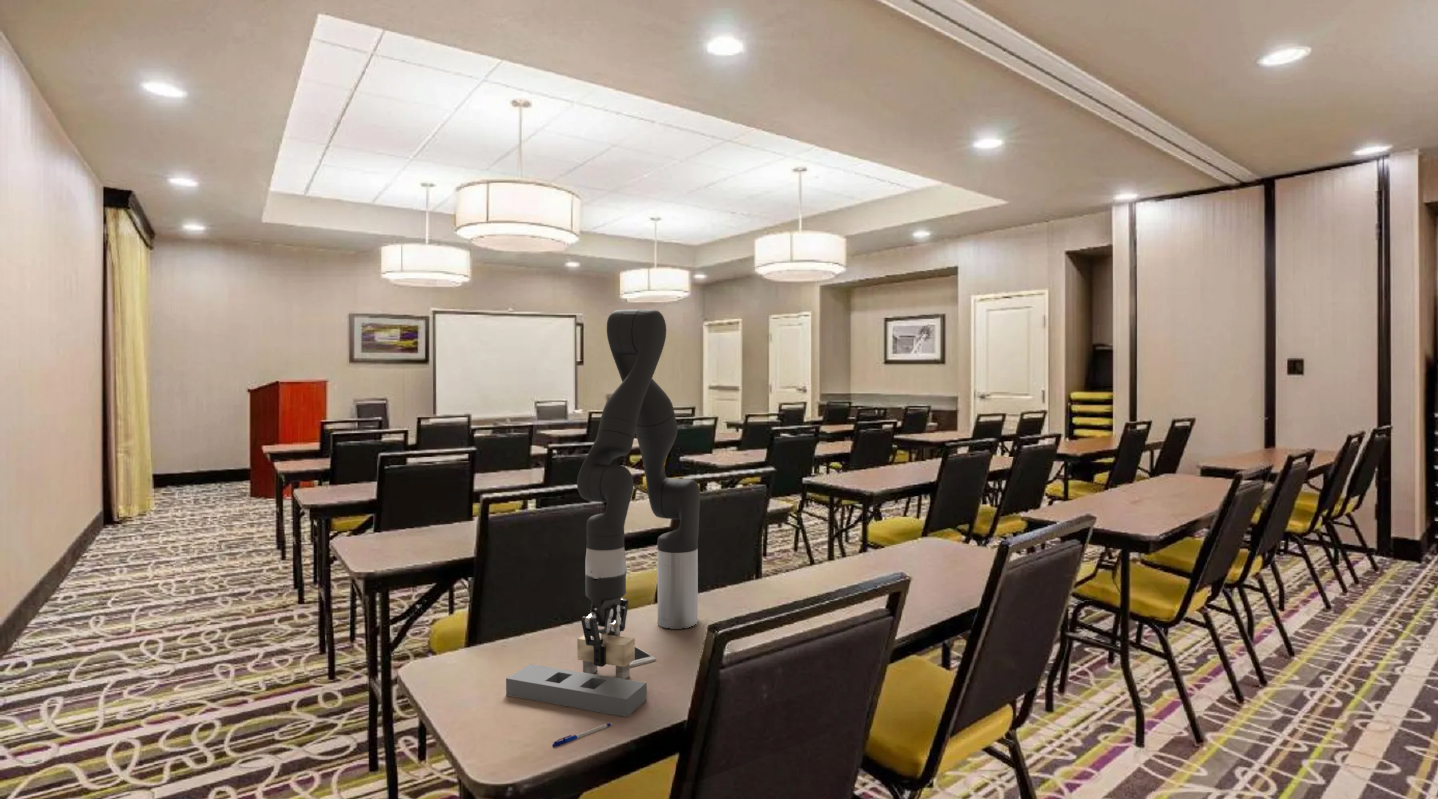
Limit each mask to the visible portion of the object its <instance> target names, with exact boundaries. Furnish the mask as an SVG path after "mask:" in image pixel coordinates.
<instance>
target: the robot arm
mask: <svg viewBox="0 0 1438 799" xmlns="http://www.w3.org/2000/svg"><path fill="white" fill-rule="evenodd" d="M606 336H607V337H606V338H607V342H608V345H609V349H610V351H611V354H612V357H613V360H614V363H615V365H616V369H617V370H618V373H619V374H618V375H619V376H620V380H621V383H620V384H619V386H618V387H617V388H616V389H615V390H614V392H613V393H612V394H611V395H610V396H609V398H608V400H607V401H606V403H605V404H604V407H603V410H602V413H601V416H600V420H599V425H598V429H597V433H596V438H595V440H594V442H593V444H592V446H591V447H590V449H589V452H588V454H587V455H586V456H585V459H584V461H583V463H582V465H581V467H580V469H579V472H578V475H577V478H576V488H577V492H578V494H579V495H580V497H581V498H582V499H584V500H585V501H589V502H596V503H597V502H598V503H606V506H605V507H606V508H605V510H604V512H603V513H597V514H594V515H592V516H589V517H588V519H587V521H586V553H585V559H584V560H585V564H584V565H585V566H584V569H585V575H584V576H585V583H584V584H585V596H586V598H588V599H589V600H590V602H591V606H590V609H589V614H588V615H587V616H582V617H581V620H580V621H581V627H582V631H583V635H584V636H585V641H586V645H589V646H593V647H594V665H595V666H597V667H601V668H602V667H604V666H606V665H607V664H606V646H605V645H606V637H607V635H614V636H621V632H624V631H625V628H626V622H627V620H626V619H627V615H628V609H629V599H626V598H623V597H624V596H626V593H627V574H626V573H627V569H626V568H627V564H626V560H627V559H626V558H627V557H626V552H625V523H626V520H627V515H628V510H629V507H630V503H631V499H632V496H633V492H634V478H633V475H632V473H631V471H630V469H628V468H627V467H626V466H623V465H618V464H612V462H613V461H614V459H616V458H619V457H624V456H627V455H629V453H630V452H631V451H632V448H633V446H634V445H633V444H634V439H635V437H636V440H637V444H638V446H639V447H638V448H639V451H640V455H641V460H642V464H643V468H644V474H645V475H644V476H645V480H646V481H645V482H646V488H647V494H648V495H647V496H648V500H649V504H650V509H651V511H652V513H653V515H654V516H656V517H657V518H660V519H668V520H679V525H678V528H677V529H675V530H672V531H668V532H665V533H662V534H660V535H659V536H658V537H657V542H656V544H657V548H656V550H657V551H656V552H657V554H656V555H657V561H656V562H657V625H658V626H659V627H660V628H664V629H668V628H670V630H683V629H682V628H685V629H689V627H690V628H692V627H691V626H693V625H695V624H696V625H698V623H697V622H699V618H698V616H699V615H698V614H699V613H698V612H699V609H698V608H699V606H698V605H699V604H698V603H699V590H698V589H699V588H698V587H699V585H698V584H699V583H698V582H699V581H698V579H699V576H698V575H699V571H698V570H699V569H698V568H699V564H698V563H699V562H698V555H699V554H698V553H699V552H698V548H699V547H698V544H699V543H698V541H699V533H700V531H699V530H700V529H699V528H700V526H699V525H700V507H701V493H700V492H701V491H700V487H699V484H698V482H697V481H696V480H694V479H691V478H675V477H674V478H673V477H672V478H671V477H670V478H669V477H667V475H666V472H665V463H666V459H667V457H668V455H669V453H670V451H671V449H672V448H673V445H674V443H675V440H676V438H677V435H678V424H677V418H676V414H675V411H674V406H673V402H672V401H671V399H670V398H669V396H668V395H667V393H666V392H665V390H663V389H662V388H661V387H660V385H659V384H658V383H657V382H656V381H655V379H654V378H653V376H654V374H655V371H656V368H657V366H658V363H659V361H660V358H661V356H662V353H663V349H664V346H665V342H666V338H667V323H666V320H665V317H664V315H663V314H662V313H661V312H660V311H659V310H658V309H657V310H656V309H650V308H648V309H645V308H644V309H640V308H639V309H638V308H637V309H636V308H635V309H632V308H631V309H616V310H614V311H612V312H611V313H610V314H609V316H608V318H607V322H606ZM696 625H695V626H696ZM600 627H603V628H600ZM693 627H694V626H693ZM599 634H601V640H600V635H599ZM591 636H592V639H591Z"/></svg>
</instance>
